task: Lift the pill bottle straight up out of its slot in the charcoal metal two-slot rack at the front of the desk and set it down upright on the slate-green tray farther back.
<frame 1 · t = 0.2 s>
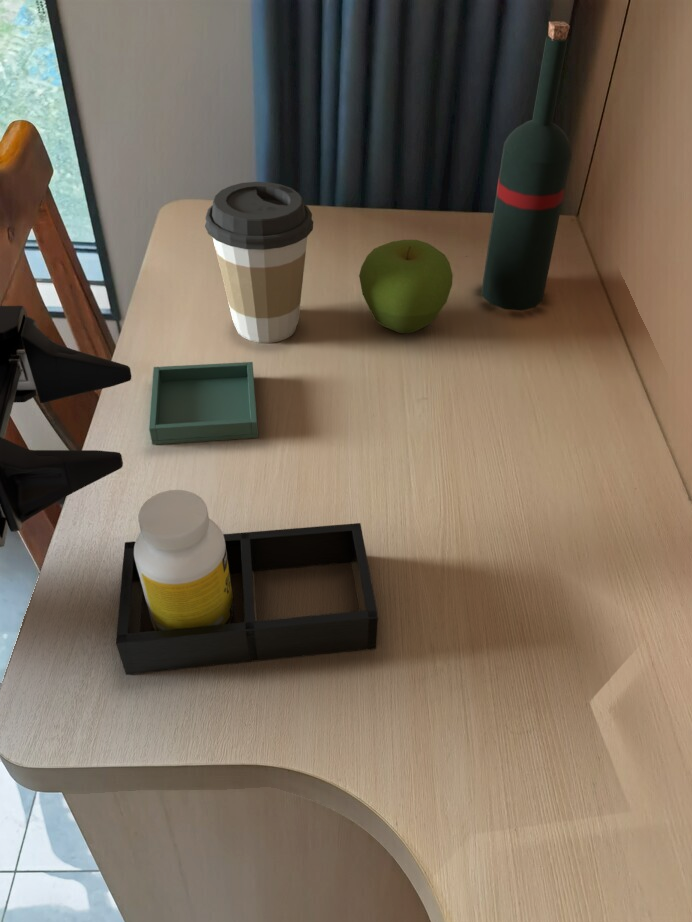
hand: (126, 414, 55), 16 cm above the table, tool horizontal, fingers open, 9 cm apart
apple: (402, 326, 95), on the table
wine bottle: (509, 290, 102), on the table
coffee cup: (266, 327, 93), on the table
tray: (205, 409, 82), on the table
rack: (193, 616, 63), on the table
pill bottle: (193, 617, 63), resting in rack
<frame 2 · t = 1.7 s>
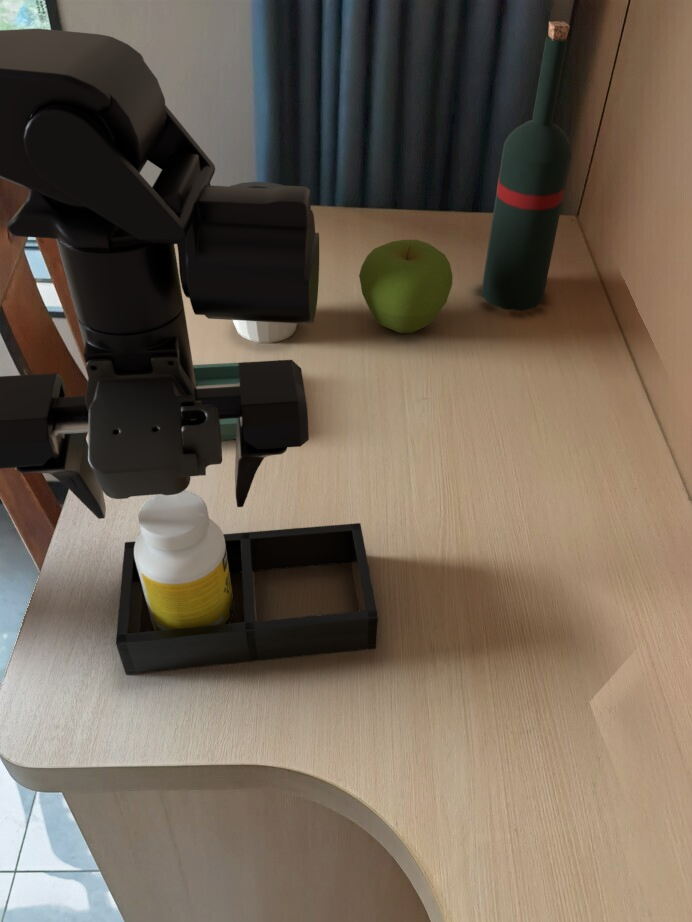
hand: (172, 508, 55), 12 cm above the table, tool pointing down, fingers open, 9 cm apart
nothing on the table moved.
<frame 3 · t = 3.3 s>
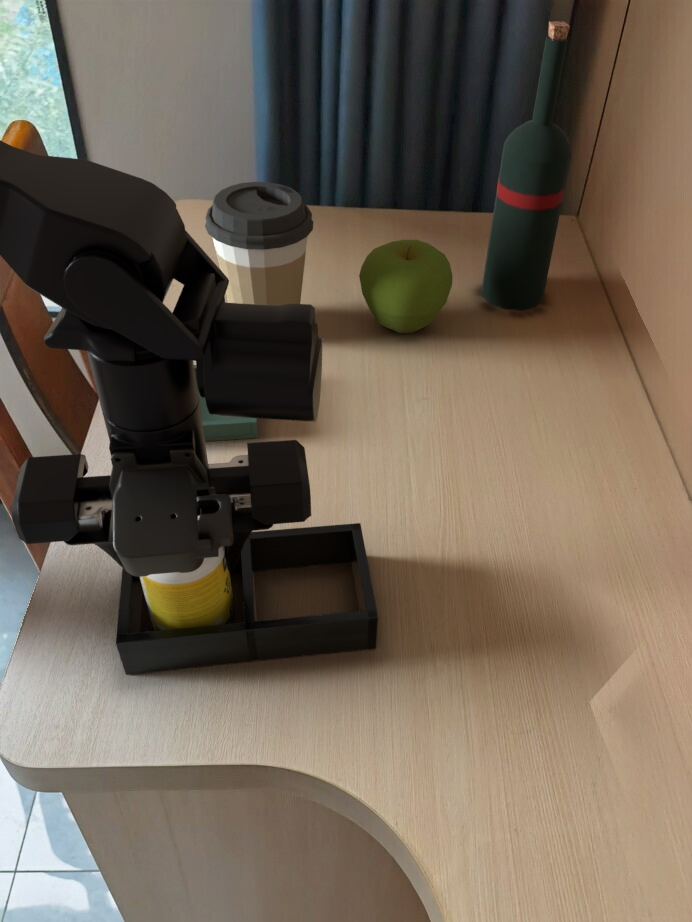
hand: (184, 570, 59), 6 cm above the table, tool pointing down, fingers closed on pill bottle, 6 cm apart
pill bottle: (194, 617, 63), resting in rack, touching gripper
everything else where it was.
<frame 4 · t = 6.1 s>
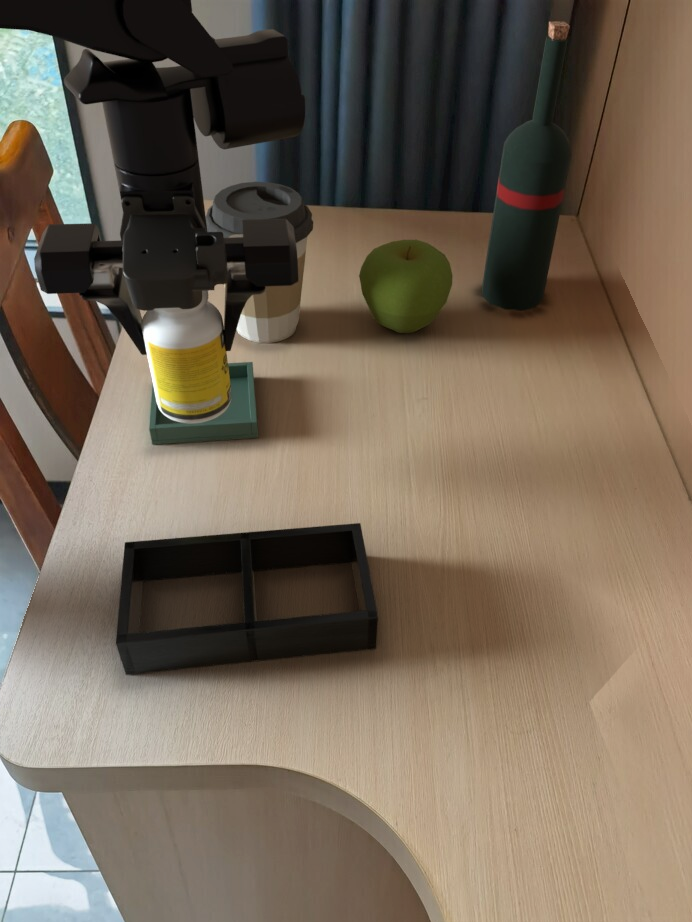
hand: (186, 350, 66), 13 cm above the table, tool pointing down, fingers closed on pill bottle, 6 cm apart
pill bottle: (195, 405, 70), point 7 cm above the table, touching gripper
everything else where it was.
when the fingers open (6 cm above the table, at t = 9.0 s): pill bottle stays where it is, resting on tray.
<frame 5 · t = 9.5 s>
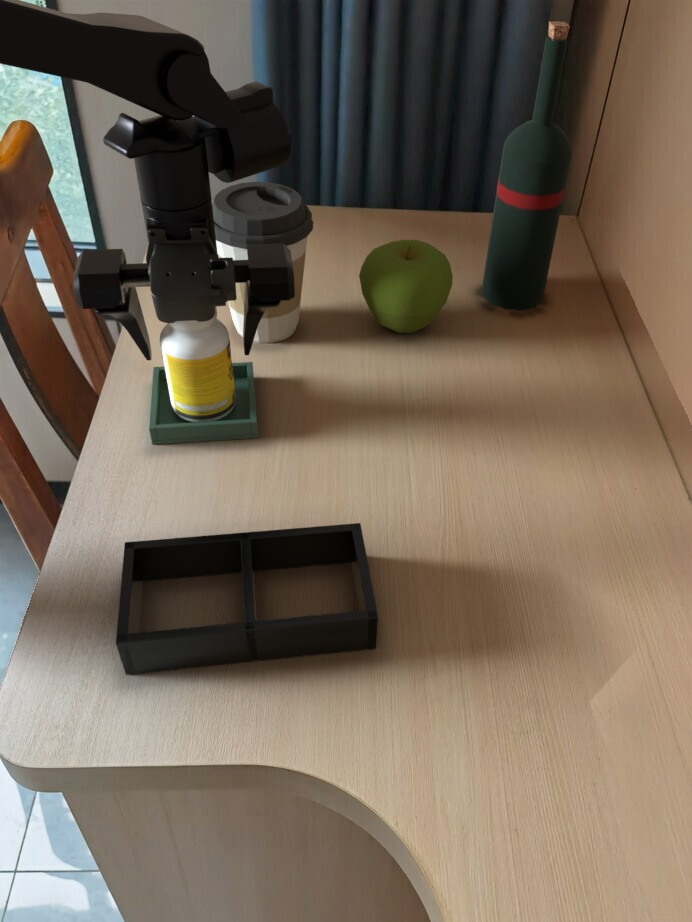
hand: (198, 355, 77), 7 cm above the table, tool pointing down, fingers open, 9 cm apart
pill bottle: (204, 407, 81), resting on tray
everything else where it was.
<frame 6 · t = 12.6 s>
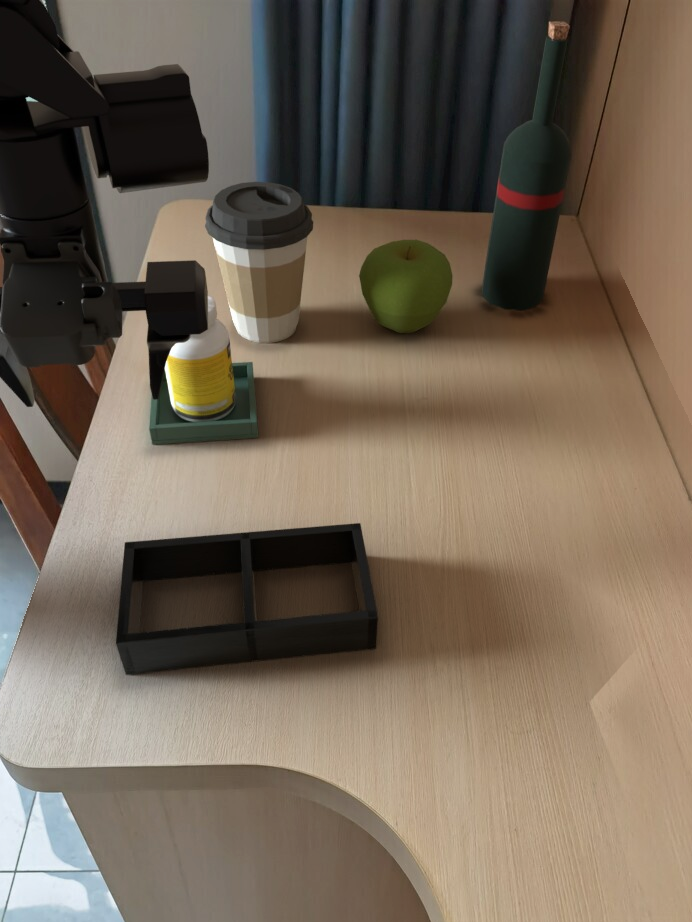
hand: (94, 400, 61), 13 cm above the table, tool pointing down, fingers open, 9 cm apart
nothing on the table moved.
at the end: pill bottle inside the target area in the tray (0.1 cm from its centre), point 0.3 cm above the tray's base; pill bottle tilted 0°; the gripper is holding nothing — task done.
